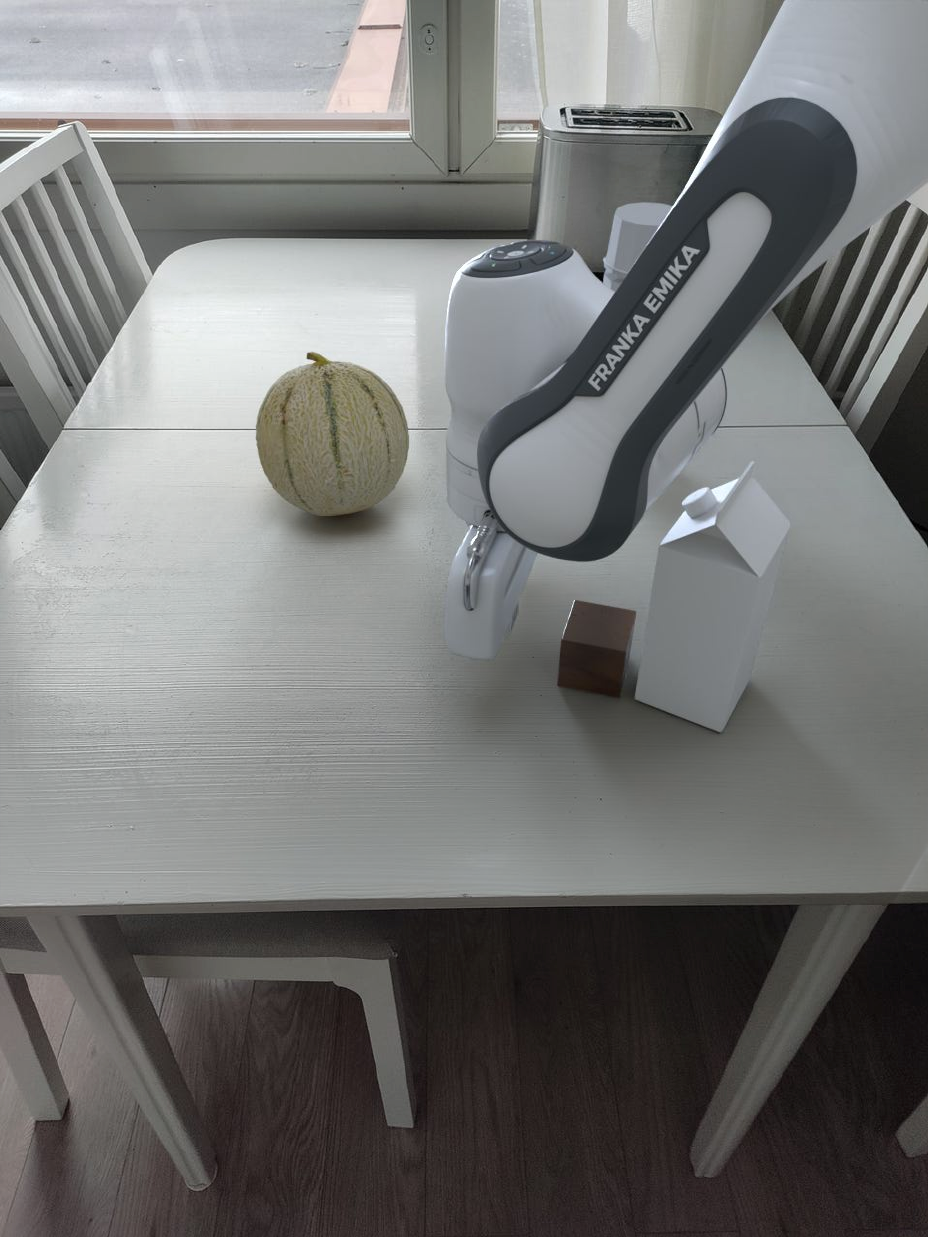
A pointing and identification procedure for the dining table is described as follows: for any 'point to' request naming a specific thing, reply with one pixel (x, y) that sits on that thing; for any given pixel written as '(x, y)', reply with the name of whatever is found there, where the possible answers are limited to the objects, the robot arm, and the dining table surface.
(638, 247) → the water bottle
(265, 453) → the cantaloupe
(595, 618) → the walnut block
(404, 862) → the dining table surface
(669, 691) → the milk carton
